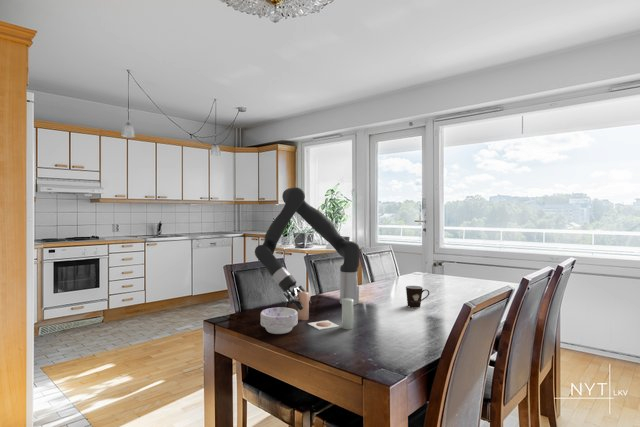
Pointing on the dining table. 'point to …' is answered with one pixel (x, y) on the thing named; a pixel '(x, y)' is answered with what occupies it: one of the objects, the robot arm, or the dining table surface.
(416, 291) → the coffee mug
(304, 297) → the terracotta tube
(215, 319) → the dining table surface
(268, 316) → the paper bowls
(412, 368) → the dining table surface
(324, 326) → the card
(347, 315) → the grey-green tube
